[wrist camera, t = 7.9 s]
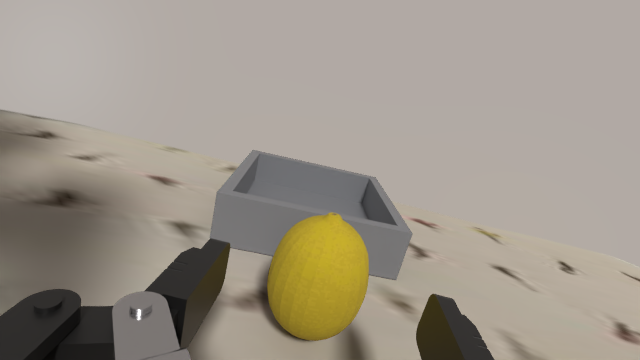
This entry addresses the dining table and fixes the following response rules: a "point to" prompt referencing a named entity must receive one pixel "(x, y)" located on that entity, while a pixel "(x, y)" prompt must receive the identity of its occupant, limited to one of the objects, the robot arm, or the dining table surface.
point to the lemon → (318, 277)
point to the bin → (307, 208)
